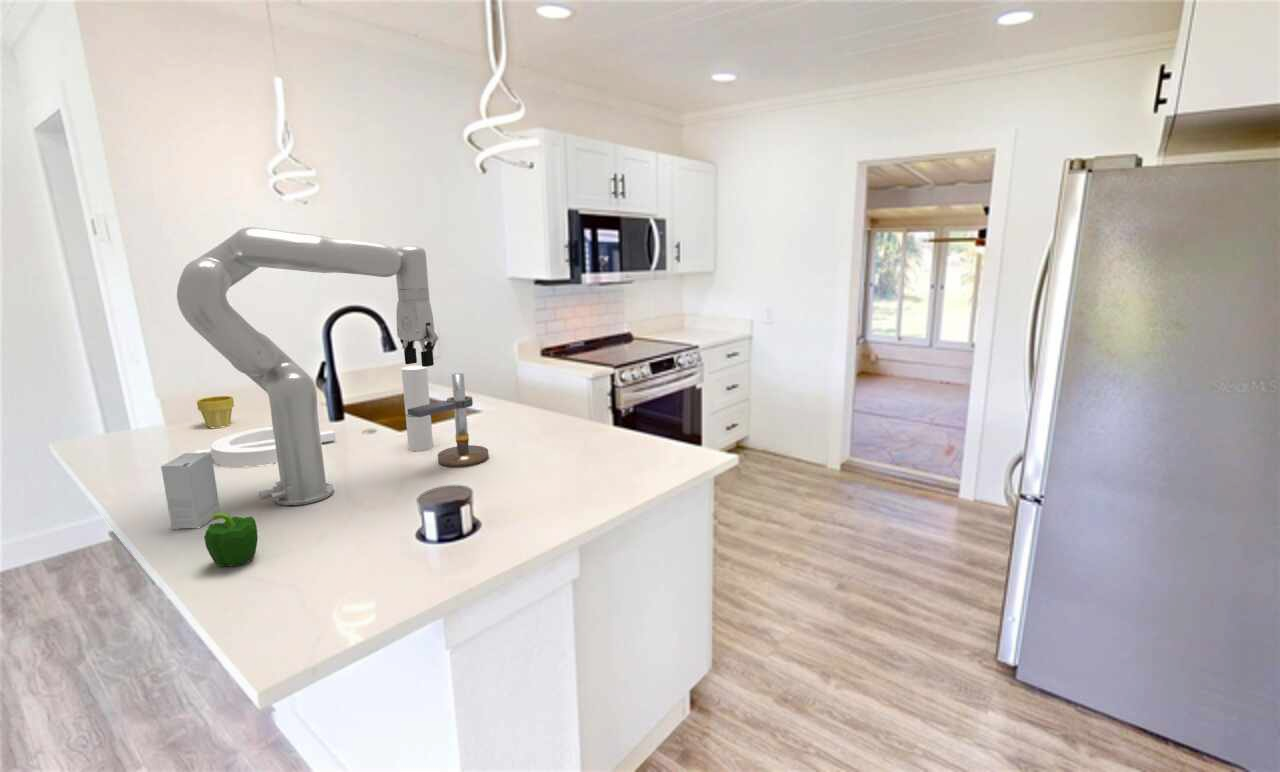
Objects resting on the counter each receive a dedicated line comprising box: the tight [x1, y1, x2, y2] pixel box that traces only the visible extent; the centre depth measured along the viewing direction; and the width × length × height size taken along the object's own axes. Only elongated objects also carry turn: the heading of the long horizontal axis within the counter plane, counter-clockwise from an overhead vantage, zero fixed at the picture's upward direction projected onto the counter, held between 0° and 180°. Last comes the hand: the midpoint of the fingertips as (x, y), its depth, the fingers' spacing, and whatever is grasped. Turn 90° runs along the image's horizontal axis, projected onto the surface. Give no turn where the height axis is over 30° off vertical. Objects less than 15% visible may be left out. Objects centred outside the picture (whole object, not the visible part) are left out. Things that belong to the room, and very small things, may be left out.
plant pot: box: [196, 395, 235, 428], centre depth 209 cm, size 10×10×10 cm
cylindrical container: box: [401, 365, 434, 452], centre depth 182 cm, size 7×7×25 cm
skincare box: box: [160, 452, 221, 530], centre depth 131 cm, size 8×6×15 cm
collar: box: [408, 395, 474, 417], centre depth 165 cm, size 18×7×2 cm, turn 145°
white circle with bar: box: [194, 426, 336, 468], centre depth 181 cm, size 28×28×5 cm
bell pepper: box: [203, 513, 258, 567], centre depth 114 cm, size 8×8×10 cm
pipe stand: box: [437, 372, 490, 468], centre depth 171 cm, size 14×14×25 cm
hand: (419, 364), depth 157 cm, fingers open, 6 cm apart
